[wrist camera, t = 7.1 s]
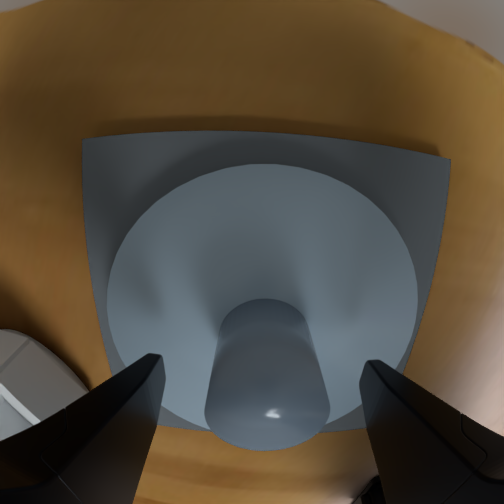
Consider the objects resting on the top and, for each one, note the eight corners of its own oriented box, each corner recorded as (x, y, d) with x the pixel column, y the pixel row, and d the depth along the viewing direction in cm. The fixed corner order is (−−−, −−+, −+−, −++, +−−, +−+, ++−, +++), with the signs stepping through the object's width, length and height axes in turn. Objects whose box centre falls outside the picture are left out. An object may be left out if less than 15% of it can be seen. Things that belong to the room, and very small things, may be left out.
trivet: (441, 158, 9) (450, 159, 9) (375, 418, 13) (379, 426, 13) (90, 139, 9) (82, 138, 9) (129, 411, 13) (126, 419, 13)
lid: (428, 182, 9) (519, 205, 5) (367, 416, 12) (392, 487, 8) (107, 164, 9) (17, 176, 5) (141, 408, 12) (113, 481, 8)
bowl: (82, 340, 12) (39, 394, 8) (125, 457, 15) (109, 503, 11) (-32, 310, 12) (-70, 340, 8) (18, 419, 15) (-4, 452, 11)
